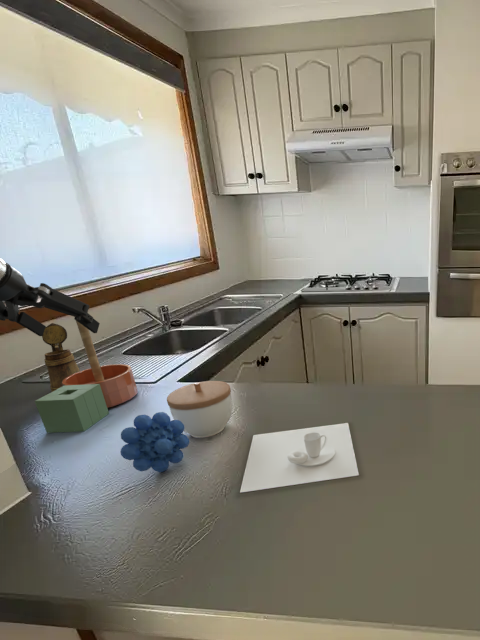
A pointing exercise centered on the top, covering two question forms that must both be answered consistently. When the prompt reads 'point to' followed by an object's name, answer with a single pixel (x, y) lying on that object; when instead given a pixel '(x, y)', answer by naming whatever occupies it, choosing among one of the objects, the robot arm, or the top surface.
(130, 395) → the mixing bowl
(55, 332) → the wooden barrel with disc
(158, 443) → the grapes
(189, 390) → the lidded bowl
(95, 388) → the stick stand
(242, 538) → the top surface
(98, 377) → the stick
